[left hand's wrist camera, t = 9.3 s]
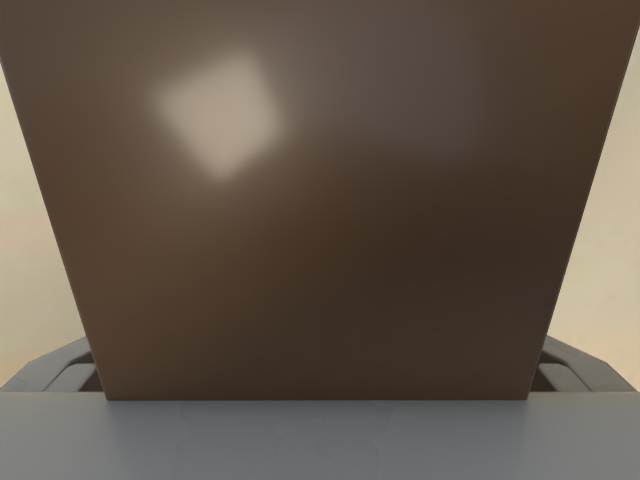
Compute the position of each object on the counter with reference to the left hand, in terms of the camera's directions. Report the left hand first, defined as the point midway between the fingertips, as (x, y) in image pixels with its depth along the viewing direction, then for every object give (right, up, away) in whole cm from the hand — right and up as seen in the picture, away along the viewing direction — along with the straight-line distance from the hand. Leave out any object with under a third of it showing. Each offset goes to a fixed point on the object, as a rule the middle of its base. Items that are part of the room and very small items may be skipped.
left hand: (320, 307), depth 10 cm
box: (0, +11, -1) cm, 11 cm away
